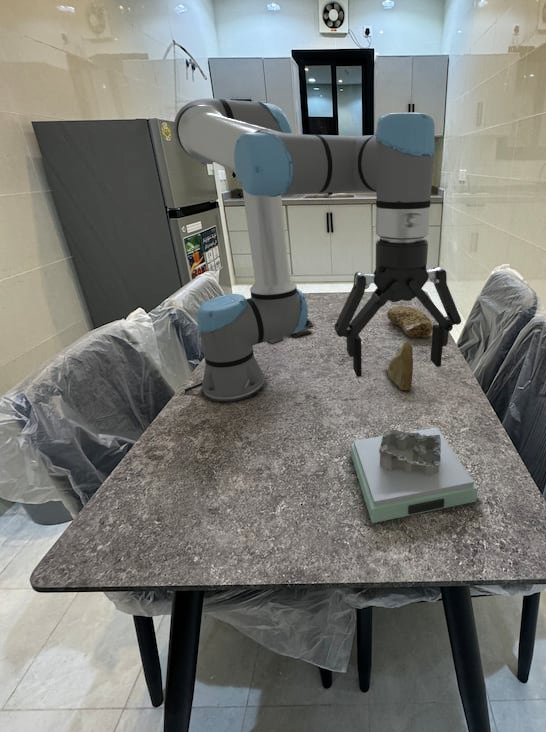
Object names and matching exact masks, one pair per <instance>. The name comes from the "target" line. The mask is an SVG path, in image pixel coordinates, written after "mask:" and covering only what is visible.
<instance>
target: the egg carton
mask: <svg viewBox="0 0 546 732" xmlns="http://www.w3.org/2000/svg"><path fill="white" fill-rule="evenodd" d="M410 432H411V431H402V430H398V429H389V430H388V431H385V432H384V433H383V434H382V436H383V438H382V442H381V445H380V449H379V453H380V465H382V466H384V467H385V469H386V470H387V471H392V470H393V469H394V468H402V469H403V470H404V471H405V472H406V473H412V472H413V471H415V470H421V471H423V472H424V473H425V475H426V476H432V474H433V473H435V472H438V471H439V465H440V463H441V456H440V454H441V438H440V435H430V436H426V435H425V434H424V435H420V434H419V433H410Z"/></svg>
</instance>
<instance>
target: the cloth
mask: <svg viewBox="0 0 546 732" xmlns="http://www.w3.org/2000/svg"><path fill="white" fill-rule="evenodd" d="M313 326H314V325H313V322H312V321H311V319H309V318H308V317H307V322H306V324H305V326H304V327H303V329H302V330H301V331H299V332H296V333H293V334H291V335H290V336H289V337H292V338H297V337H300V336H303V335H308V334H312V333H313V332H312V331H311V330H310V329H309V328H311V327H313ZM283 340H284V337H281V338H277V339H273V340H269V341H267V342H268V343H270V344H271V345H272V344H275V343H278V342H280V341H283Z"/></svg>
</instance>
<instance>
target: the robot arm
mask: <svg viewBox="0 0 546 732" xmlns="http://www.w3.org/2000/svg"><path fill="white" fill-rule="evenodd" d="M435 127H436V125H435V121H434V118H433V117H432V116H431V115H430V114H427V113H422V112H392V113H386V114H383V115H381V116H379V118H378V119H377V121H376V130H375V132H374V134H373V135H332V134H331V135H330V134H303V133H300V134H299V133H293V131H292V127H291V124H290V122H289V119H288V118H287V116H286V114H285V113H284V111H283V109H281V108H280V107H279V106H277V105H276V104H272V103H266V102H262V101H253V100H252V101H251V100H238V99H237V100H235V99H220V98H211V97H205V98H199V99H195V100H192V101H190V102H188V103H186V104H185V105H183V106H182V107H181V108H180V109H179V111H178V112H177V113H176V115H175V118H174V122H173V133H174V137H175V139H176V142H177V143H178V145H179V147H180V148H181V150H183V152H184V153H185V154H187V155H188V156H189V157H191V158H192V159H195V160H196V161H199V162H202V163H207V164H212V163H215V164H217V165H219V166H221V167H223V168H225V169H227V170H229V171H232V172H233V173H234V174H235V175H236V177H237V179H238V182H239V184H240V185H241V188H242V196H243V202H244V211H245V216H246V224H247V231H248V239H249V247H250V254H251V260H252V269H253V277H254V283H253V284H252V286H251V287H250V288H249V291H250V297H249V298H246V297H245V295H243V294H240V293H231V294H222V295H219V296H215V297H213V298H210V299H208V300H206V301H204V302H203V303H202V304H200V306H199V307H198V308H197V310H196V322H197V323H196V324H197V325H196V326H197V330H198V334H199V337H200V342H201V348H202V353H203V358H204V362H205V366H204V372H203V378H202V382H200V383H197V384H195V385H192V386H189V387H187V388H184V392H185V393H187V392H189V391H192V390H195V389H196V388H199V387H202V393H203V395H204V397H205V398H207V399H208V400H210V401H213V402H219V403H232V402H238V401H242V400H245V399H248V398H250V397H252V396H254V395H256V394H257V393H259V392H260V391H261V390H262V389H263V388H264V387H265V384H266V381H265V380H266V379H265V374H264V372H263V370H262V368H261V366H260V364H259V363H258V360H257V359H256V357H255V354H254V347H253V346H254V345H255V346H256V345H258V344H263V343H265V342H268V341H269V340H273V339H277V338H281V337H282V338H284V337H291V336H290V335H291V334H293V333H296V332H299V331H301V330H302V329H303V327H304V326H305V324H306V322H307V318H308V317H309V308H308V307H309V306H308V301H306V296H305V295H304V292H303V291H302V290H300V289H299V288H297V284H296V283H295V282H294V281H293V280H291V278H290V266H289V259H288V257H289V256H288V247H287V239H286V229H285V228H286V227H285V218H284V208H283V201H282V196H289V195H302V194H303V195H305V194H322V193H323V194H325V193H341V192H342V193H343V192H344V193H345V192H373V193H375V194H376V195H375V196H376V200H375V207H376V208H375V235H376V236H377V237H379V238H377V239H376V241H375V269H374V272H373V273H372V274H371V273H362V272H361V271H356V272H355V273H354V275H353V285H352V288H351V290H350V292H349V294H348V296H347V298H346V301H345V302H344V305H343V307H342V309H341V312H340V313H339V316H338V318H337V319H336V321H335V324H334V327H333V328H334V331H335V333H336V335H337V337H340V338H343V337H344V338H346V352H347V354H348V356H349V357H350V358H352V365H353V366H352V368H353V371H354V374H355V376H356V377H357V378H361V377H362V373H363V372H362V338H361V336H360V333H361V332H362V331H363V330H364V329H365V327H367V325H368V324H369V322H370V321H371V320H372V319H373V317H374V316H375V315H376V314H377V313H378V312H379V310H380V309H381V308H382V307H384V306H385V305H386V304H387V302H388V301H389V302H391V303H397V302H401V301H405V302H410V301H411V302H412V301H413V299H415V298H416V299H417V300H418V301H419V302H420V304H422V306H423V307H424V308H425V310H426V311H427V312H428V313H429V314H430V316H431V317H432V318H433V319H434V320H435V321H436V322H437V324H432V327H433V330H432V332H431V344H430V345H431V347H430V359H429V360H430V361H431V362H432V363H433V365H434V366H435V367H436V368H441V367H442V360H443V359H442V358H443V347H447V345H448V344H449V343H448V342H449V332H451V331H452V330H453V328H454V327H453V326H455V325H460V324H461V323H462V317H461V316H460V313H459V311H458V309H457V306H456V304H455V300H454V298H453V296H452V293H451V291H450V288H449V286H448V283H447V279H448V277H447V271H446V270H445V269H444V268H442V267H440V266H437V265H435V266H434V267H433V268H432V269H427V264H428V254H429V241H428V240H427V238H426V237H427V236H429V234H430V220H431V219H430V217H431V204H432V203H431V199H432V197H431V196H432V185H433V171H434V163H435V154H436V149H435V148H436V147H435V143H436V141H435V137H436V135H435ZM428 280H429V281H430V282H431V283H433V285H434V288H435V290H436V293H437V295H438V297H439V299H440V302H441V305H442V307H443V310H444V311H445V314H446V316H444V314H443V313H442V312H441V310H439V308H438V307H437V306H436V305H435V303H434V302H433V301H432V299H430V297H429V295H428V294H427V293H426V292H425V291H424V290H423V287H424V286H425V285H426V283H427V282H428ZM372 284H374V285H375V286H376V289H374V291H373V292H372V294H371V296H370V298H369V299H368V300H367V302H366V303H365V304H364V306H363V307H362V308H361V309H360V310H359V312H358V313H357V314H356V311H357V309H358V307H359V305H360V304H361V301H362V299H363V297H364V296H365V291H366V290H367V289H369V287H370V286H371V285H372ZM355 314H356V315H355ZM354 316H355V317H354Z"/></svg>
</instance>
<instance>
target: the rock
mask: <svg viewBox="0 0 546 732" xmlns="http://www.w3.org/2000/svg"><path fill="white" fill-rule="evenodd" d="M413 350H414V349H413V345H412V344H411V343H409V342H407V341H405V342H404V343H403V344H402V345H401V346H400V348H399V349H398V350H397V351H396V353H395V356H394V357H393V358H392V359H391V361H390V362H389V364H388V368H387V369H386V373H387V377H388V379H390V381H391V382H393V383H394V384H395V385H396V386H397V387H398V388H399V390H401V391H410V390H411V387H412V383H413V374H414V370H413V369H414V358H413V357H414V355H413V354H414V353H413V352H414V351H413Z"/></svg>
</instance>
